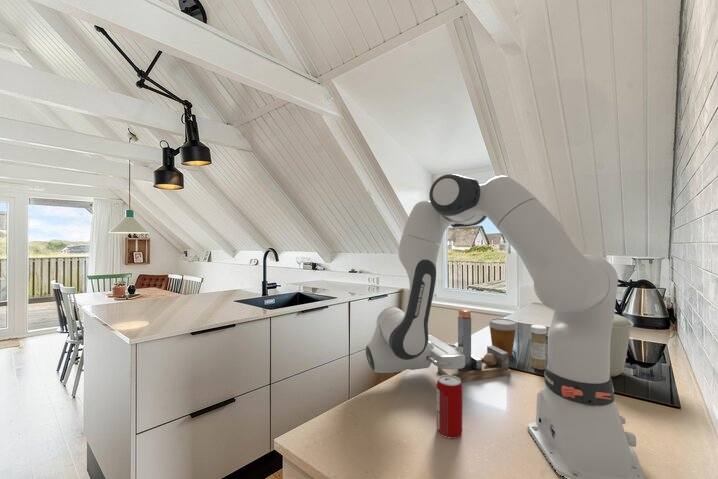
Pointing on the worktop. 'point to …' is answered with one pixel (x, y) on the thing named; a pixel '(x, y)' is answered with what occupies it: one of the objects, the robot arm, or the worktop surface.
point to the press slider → (467, 341)
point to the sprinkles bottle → (538, 346)
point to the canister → (619, 344)
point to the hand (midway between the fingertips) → (460, 348)
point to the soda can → (449, 406)
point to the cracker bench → (484, 367)
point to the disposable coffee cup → (503, 334)
